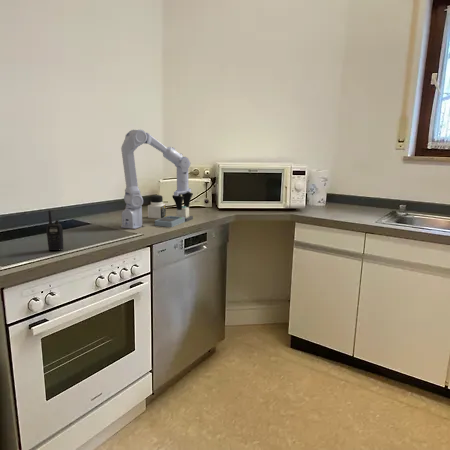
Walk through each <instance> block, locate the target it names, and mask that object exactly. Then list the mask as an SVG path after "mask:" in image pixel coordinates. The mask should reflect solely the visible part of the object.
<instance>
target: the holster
mask: <svg viewBox="0 0 450 450" xmlns="http://www.w3.org/2000/svg"><path fill="white" fill-rule="evenodd" d="M193 219H194V216H193V215H191V216H190V215H189V217H187V218H185V222H189V221H192V220H193Z"/></svg>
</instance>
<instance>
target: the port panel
mask: <svg viewBox="0 0 450 450" xmlns="http://www.w3.org/2000/svg"><path fill="white" fill-rule="evenodd" d="M185 222H186V221H185V217H177V215H175V216H174V215H166V216H165V217H163V218H161V219H158V218H157V219H155V220H154V226H155V227H157V226H158V227H159V228H160V229H161V228H162V227H164V228H168V229H171V228H173V227H175V226H178V225H181V224H183V223H185Z"/></svg>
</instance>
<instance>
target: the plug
mask: <svg viewBox="0 0 450 450" xmlns="http://www.w3.org/2000/svg"><path fill="white" fill-rule="evenodd" d="M176 216H177V217H185V218H187V217H190V206H189V207H186V206H184V205H182V210H177V209H176Z"/></svg>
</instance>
